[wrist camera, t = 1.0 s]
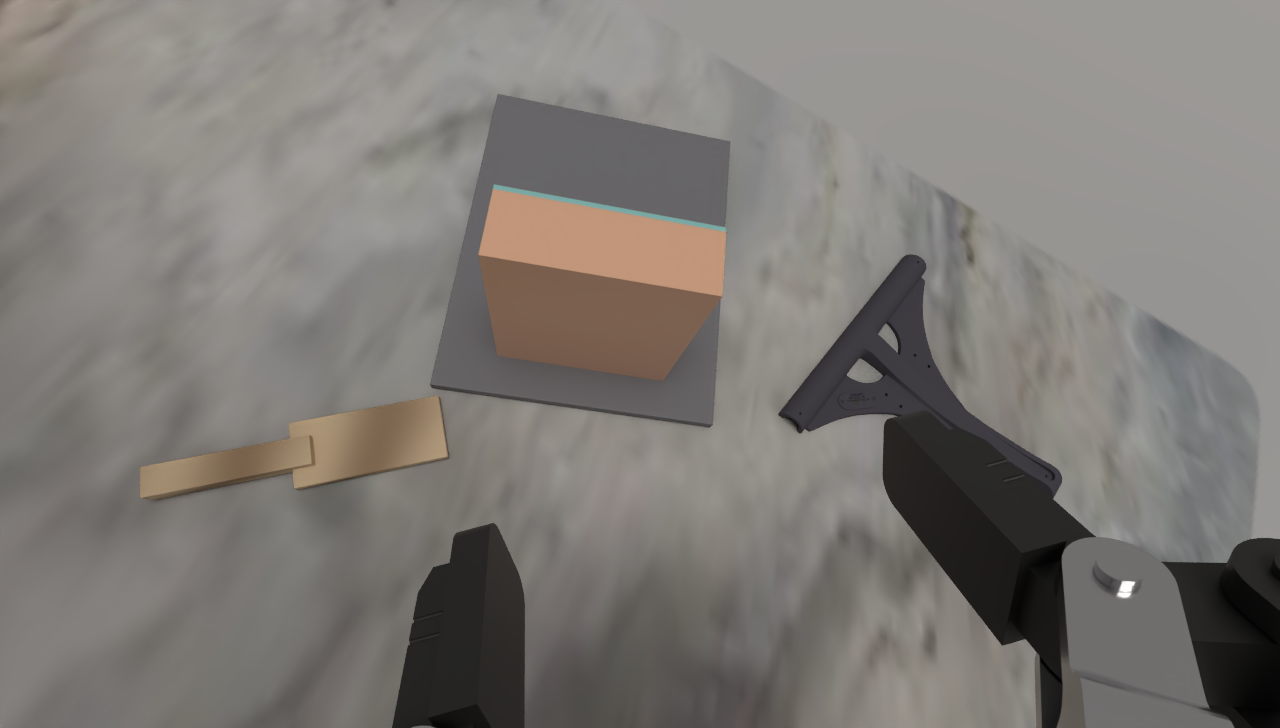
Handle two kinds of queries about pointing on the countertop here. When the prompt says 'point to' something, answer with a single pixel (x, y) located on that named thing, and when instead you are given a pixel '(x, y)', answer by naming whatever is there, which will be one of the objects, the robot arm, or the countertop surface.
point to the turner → (315, 451)
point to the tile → (596, 282)
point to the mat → (598, 173)
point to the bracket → (897, 374)
